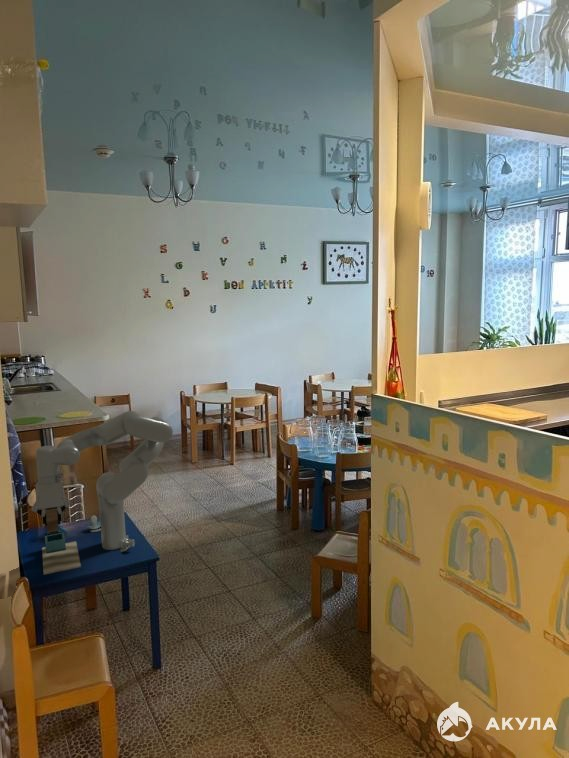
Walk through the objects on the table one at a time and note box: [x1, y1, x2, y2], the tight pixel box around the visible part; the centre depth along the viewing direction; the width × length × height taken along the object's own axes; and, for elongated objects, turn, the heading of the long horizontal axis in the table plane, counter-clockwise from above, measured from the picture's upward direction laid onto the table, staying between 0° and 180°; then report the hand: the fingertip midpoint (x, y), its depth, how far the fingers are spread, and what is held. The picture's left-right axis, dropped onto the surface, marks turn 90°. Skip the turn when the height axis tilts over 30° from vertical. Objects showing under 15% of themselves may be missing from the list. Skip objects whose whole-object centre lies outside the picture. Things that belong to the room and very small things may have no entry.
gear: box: [46, 524, 69, 535], centre depth 243 cm, size 11×6×10 cm
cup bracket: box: [44, 531, 66, 554], centre depth 223 cm, size 14×7×10 cm, turn 24°
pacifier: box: [86, 514, 101, 533], centre depth 249 cm, size 7×6×6 cm
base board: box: [41, 540, 82, 576], centre depth 221 cm, size 24×13×2 cm, turn 24°
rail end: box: [45, 507, 60, 534], centre depth 218 cm, size 4×4×9 cm
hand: (52, 523), depth 218 cm, fingers closed on rail end, 4 cm apart
